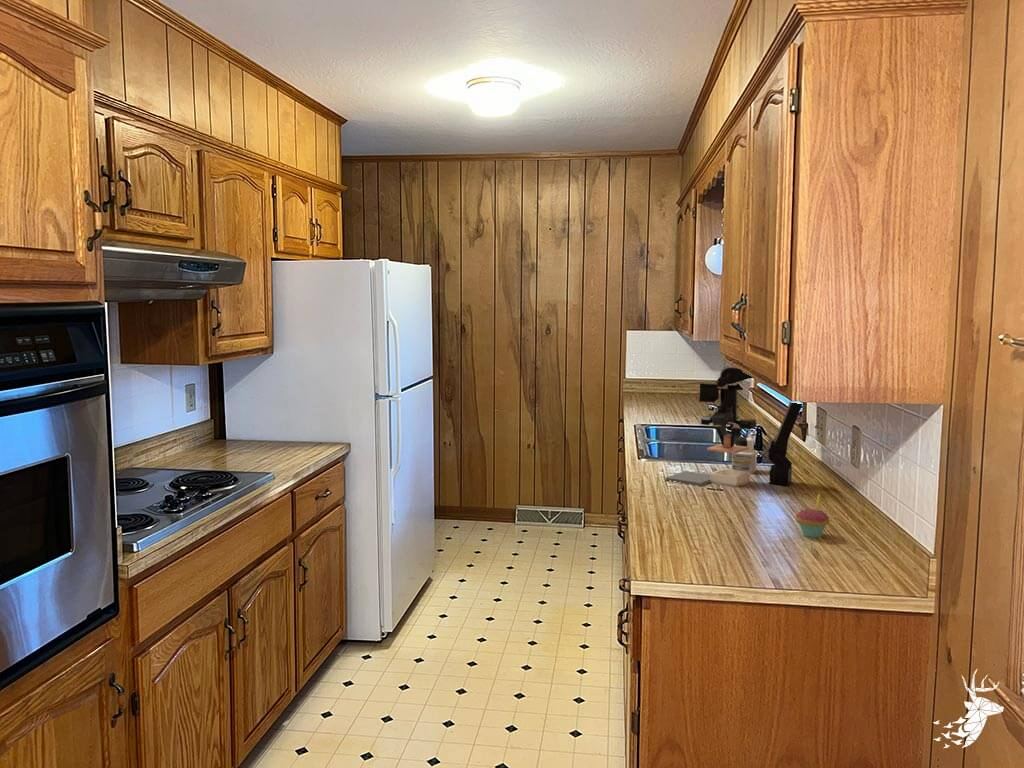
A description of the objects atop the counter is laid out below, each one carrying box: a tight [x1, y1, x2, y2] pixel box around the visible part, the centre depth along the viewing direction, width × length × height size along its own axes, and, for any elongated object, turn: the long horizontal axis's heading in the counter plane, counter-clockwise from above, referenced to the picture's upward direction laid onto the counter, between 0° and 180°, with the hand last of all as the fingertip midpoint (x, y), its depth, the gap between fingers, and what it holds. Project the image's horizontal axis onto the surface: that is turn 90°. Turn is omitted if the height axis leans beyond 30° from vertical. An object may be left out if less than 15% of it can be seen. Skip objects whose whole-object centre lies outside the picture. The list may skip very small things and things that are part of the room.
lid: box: [706, 433, 749, 454], centre depth 270 cm, size 11×11×5 cm
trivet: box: [665, 470, 711, 487], centre depth 276 cm, size 14×14×1 cm
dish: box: [709, 468, 750, 487], centre depth 271 cm, size 10×10×4 cm
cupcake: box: [795, 491, 830, 538], centre depth 208 cm, size 9×8×12 cm
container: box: [731, 436, 757, 475], centre depth 288 cm, size 8×8×13 cm
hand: (727, 446), depth 270 cm, fingers closed on lid, 3 cm apart
